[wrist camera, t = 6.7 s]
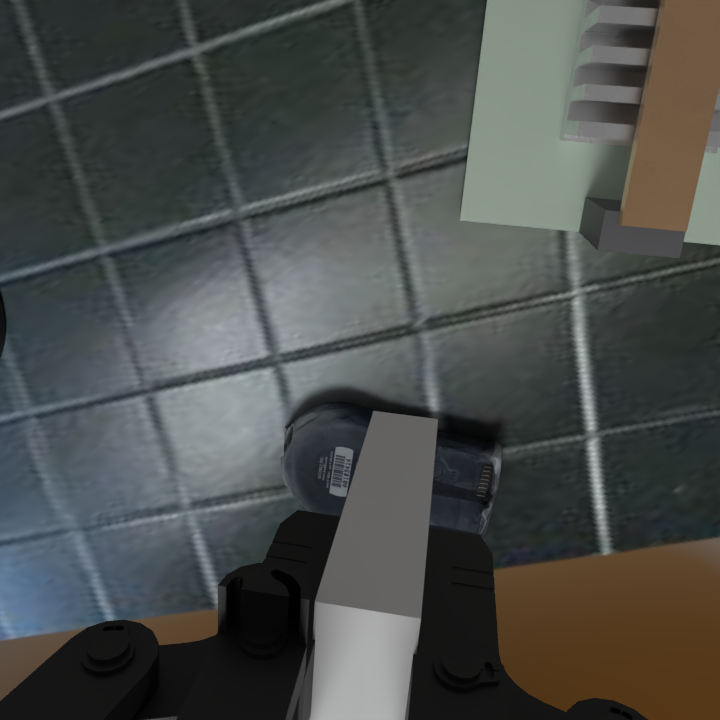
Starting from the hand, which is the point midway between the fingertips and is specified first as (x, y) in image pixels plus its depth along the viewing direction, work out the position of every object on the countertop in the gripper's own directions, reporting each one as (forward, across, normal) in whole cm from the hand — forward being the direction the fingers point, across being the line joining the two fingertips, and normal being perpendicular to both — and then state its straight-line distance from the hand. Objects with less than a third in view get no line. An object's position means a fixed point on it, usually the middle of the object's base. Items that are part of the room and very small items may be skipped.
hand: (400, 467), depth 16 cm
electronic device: (+29, -2, -16) cm, 33 cm away
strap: (+21, +10, +11) cm, 26 cm away
